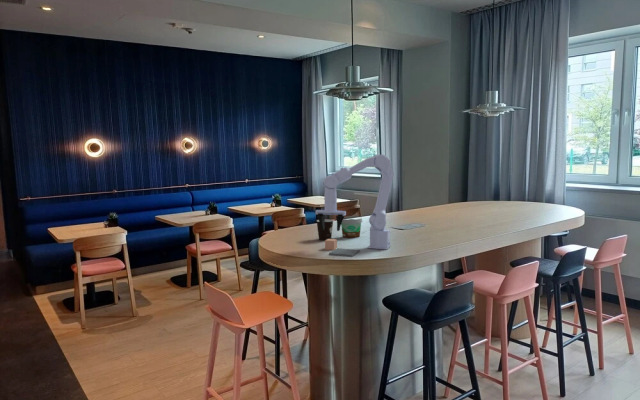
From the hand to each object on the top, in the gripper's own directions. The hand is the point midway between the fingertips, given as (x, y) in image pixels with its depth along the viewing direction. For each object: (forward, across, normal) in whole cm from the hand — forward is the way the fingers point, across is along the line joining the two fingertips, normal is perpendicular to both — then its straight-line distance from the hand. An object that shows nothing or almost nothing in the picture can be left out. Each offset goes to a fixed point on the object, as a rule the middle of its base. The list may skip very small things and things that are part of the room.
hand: (330, 230), depth 221 cm
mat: (+9, +9, -7) cm, 15 cm away
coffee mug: (+9, -10, +22) cm, 26 cm away
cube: (+9, 0, 0) cm, 9 cm away
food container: (+9, +1, +31) cm, 32 cm away
